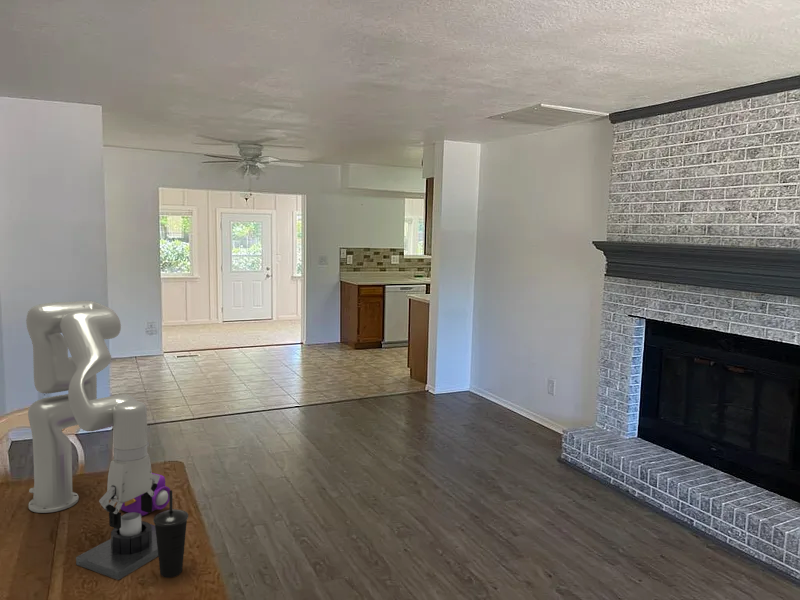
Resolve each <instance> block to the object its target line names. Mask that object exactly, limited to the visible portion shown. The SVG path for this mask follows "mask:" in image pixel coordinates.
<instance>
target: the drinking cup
mask: <svg viewBox="0 0 800 600" xmlns="http://www.w3.org/2000/svg"><path fill="white" fill-rule="evenodd" d="M168 506H169V508H168V509H167V510H164V511H162V512H159V513H157V514H156V515H154V517H153V518H152V519H153V525H155V529H156V538H157V547H158V564H159V566H158V567H159V573H160V576H161V577H163V578H167V579H168V578H169V579H170V578H175V577H177V575H178V576H179V575H180V574H181V573H182V572H183V567H184V566H183V565H184V555H185V554H184V553H185V543H186V535H187V534H186V533H187V522H188V519H189V514H188V512H187V511H185V510H182V509H173V489H170V491H169V502H168Z"/></svg>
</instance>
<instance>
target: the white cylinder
mask: <svg viewBox="0 0 800 600" xmlns="http://www.w3.org/2000/svg"><path fill="white" fill-rule="evenodd" d="M141 521H142V516H141V514H140V513H136V512H131V513H129V512H125V513H124V514H123V515H122V514H121V528H120V535H121V536H133V535H138V534H140V533H142V525H141Z"/></svg>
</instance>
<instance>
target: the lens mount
mask: <svg viewBox="0 0 800 600" xmlns="http://www.w3.org/2000/svg"><path fill="white" fill-rule="evenodd" d="M141 525H142V533H140V534H138V535H133V536H121V535H120V529H116V528H113V529H112V530H111V531H110V538H109V539H107V540H106V541H104V542H102V543H99V545H96V546H94V547H93V548H90V549H89V550H87V551H85V552H83V553H81V554H79V555H77V556H76V557H75V560H76V561H75V562H76V563H75V565H76V566H79V567H81V568H84V569H87V570H88V571H89V570H90V571H93V572H95V573H98V574H100V575H103V576H106V577H109V578H112V579H115V580H116V581H120V580H121V579H123V578H125V577H127V576H128V575H130V574H131V573H133V572H134V571H136V570H138V569H140V568H141V567H143V566H145V565H147V564H149V562H151V561H152V560H154V559H156V558H157V557H158V547H157V538H156V529H155V524H152V523H150V522H147V521H143V520H141ZM158 558H159V557H158Z"/></svg>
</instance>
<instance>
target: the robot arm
mask: <svg viewBox="0 0 800 600" xmlns="http://www.w3.org/2000/svg"><path fill="white" fill-rule="evenodd" d="M25 322H26V329H27V332H28V335H29V338H30V340H31V344H32V353H33V354H32V357H33V358H32V359H33V361H32V362H33V363H32V364H33V367H32V368H33V384H34V388H35V389H36V391H37V392H38V393H40V394H46V395H47V394H55V393H61V392H62V393H63V392H67V391H68V393H65V394H59V395H58V394H57V395H54V396H48V397H45V398H40V399H38V400H36V401H33V403H32V404H30V406H29V408H28V410H27V411H28V412H27V416H28V423H29V427H30V432H31V436H32V437H31V438H32V452H33V453H32V454H33V455H32V456H33V477H34V478H33V481H34V485H33V487H30V488H29V490H28V492H29V493H30V494H32V495H33V498H32V499H30V501H29V502H28V509H29V511H31V512H34V513H37V514H38V513H39V514H47V513H55V512H60V511H63V510H66V509H69V508H71V507H74V506H75V505H76V504H77V503H78V501H79V498H80V497H79V494H78V493H76V492H74V491H73V459H72V455H73V454H72V453H73V452H72V451H73V449H72V441H71V440H70V437H68V436H67V435H66V434H65V433H64V432H63V431H62V430H63V429H67V428H70V427H71V428H72V427H75V426H79V428H80V429H81V430H83V431H84V432H95V431H99V430H104V429H108V428H112V427H113V428H112V429H113V435H112V436H113V459H112V460H111V461H110V464H109V469H108V474H107V489H106V492H105V493H104V494H103V496H101V497H100V499H99V500H98V502H99V504H100V505H101V506H102V509H104V510H105V511H106V512H108V514H109V515H108V516H109V518H108V520H109V522H108V524H109V527H111V528H113V529H114V528H116V529H120V528H121V516H122V512H120V510H121V506H122V504H123V503H124V502H127V501H129V500H131V499H133V498H135V497H138V496H140V495H141V510H142V511H145V512H148V514H150V513H152V512H153V511H152V497H153V496H154V491H155V489H156V488H157V483H158V481H159V478H160V476H159V475H160V474H159V475H156V474H157V473H155V474H152V473H153V472H152V465H151V458H150V454H149V453H148V447H150V443H149V441H148V417H147V416H148V408H147V405H146V403H144V402H143V401H139V400H137V399H136V398H135V397H134V396H132V395H131V394H127V393H126V394H125V393H122V394H117V395H112V396H111V395H110V396H106V397H100V398H98V397H97V396H98V395H97V394H98V391H97V387H98V386H97V384H98V383H97V381H98V379H97V377H98V376H97V374H98V373H100V372H102V371H103V370H104V369H106V368H107V367H108V366H109V365H110V364H111V361H112V355H111V353H110V350H109V348H108V346H107V343H106V341H105V340H110V339H115V338H116V337H118V336H119V335H120V333H121V329H122V327H121V326H122V325H121V320H120V317H119V316H118V314H117V313H116V311H115V310H113V309H111V308H110V307H108V306H105V305H103V304H101V303H98V302H96V301H91V300H78V301H77V300H76V301H60V302H59V301H58V302H55V301H54V302H47V303H46V302H45V303H40V304H37V305H34V306H32V307H31V308H30V309H29V310H28V312H27V314H26V320H25ZM69 353H70V357H69ZM142 494H144V495H142ZM115 504H116V505H115Z"/></svg>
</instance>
